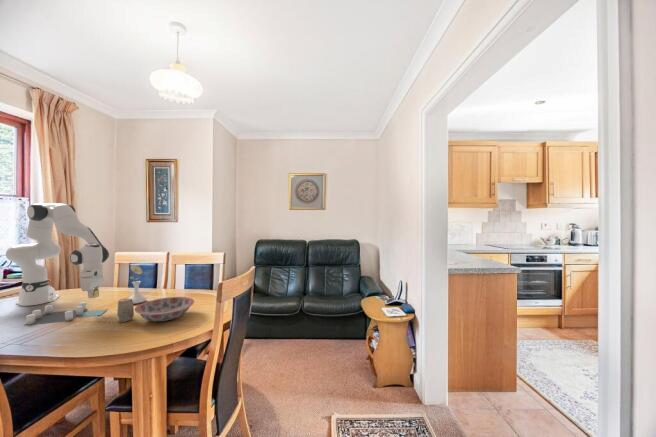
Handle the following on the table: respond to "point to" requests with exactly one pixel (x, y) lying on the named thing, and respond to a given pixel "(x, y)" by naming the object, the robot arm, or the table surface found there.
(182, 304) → the ceramic bowl
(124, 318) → the carving
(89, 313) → the teal tile
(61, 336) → the table surface
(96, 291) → the brass nut
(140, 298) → the flower in vase
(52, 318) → the spacer mat
